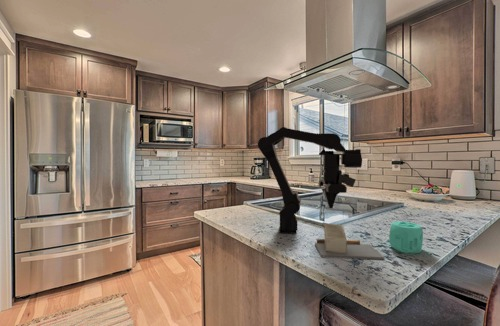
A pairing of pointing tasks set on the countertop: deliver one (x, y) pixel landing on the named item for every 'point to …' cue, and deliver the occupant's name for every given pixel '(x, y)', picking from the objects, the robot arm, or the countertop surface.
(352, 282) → the countertop surface
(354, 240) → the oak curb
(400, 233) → the decorative dice
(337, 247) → the skincare box
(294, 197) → the robot arm
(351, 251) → the rubber mat
